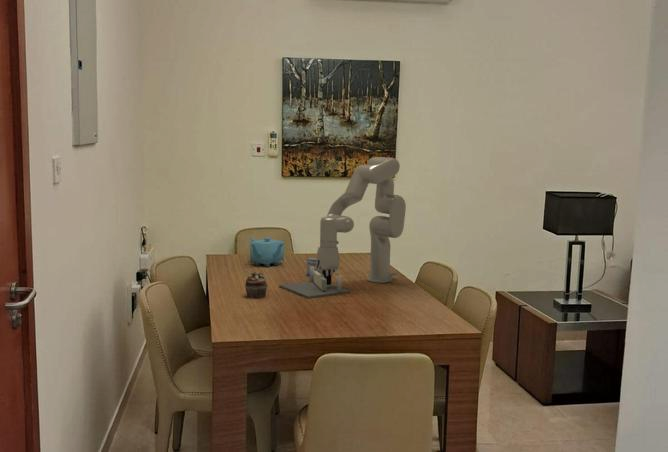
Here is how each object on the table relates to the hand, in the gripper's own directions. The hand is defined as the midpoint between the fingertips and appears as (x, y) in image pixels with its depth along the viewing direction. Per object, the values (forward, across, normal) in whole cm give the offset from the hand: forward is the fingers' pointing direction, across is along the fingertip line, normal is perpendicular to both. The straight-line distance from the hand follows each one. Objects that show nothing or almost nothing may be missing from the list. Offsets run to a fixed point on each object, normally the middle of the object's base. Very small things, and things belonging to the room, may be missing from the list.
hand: (327, 284), depth 291 cm
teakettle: (+3, -3, -65) cm, 65 cm away
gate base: (+3, +6, -2) cm, 7 cm away
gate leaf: (+1, +3, -3) cm, 4 cm away
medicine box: (+3, -11, -28) cm, 30 cm away
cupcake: (+3, +34, -5) cm, 34 cm away
